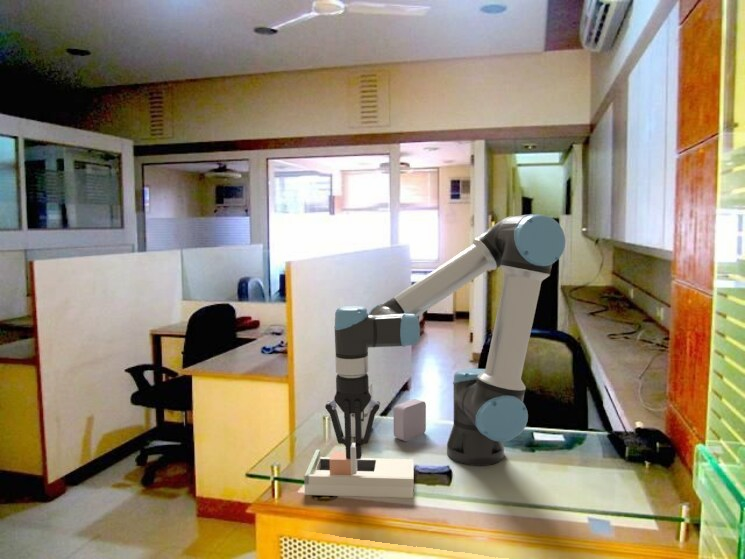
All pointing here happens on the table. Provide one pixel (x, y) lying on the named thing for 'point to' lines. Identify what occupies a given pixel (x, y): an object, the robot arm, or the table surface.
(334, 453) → the terracotta block
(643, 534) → the table surface
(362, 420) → the ink box
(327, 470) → the tray
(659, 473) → the table surface
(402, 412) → the electronic device
